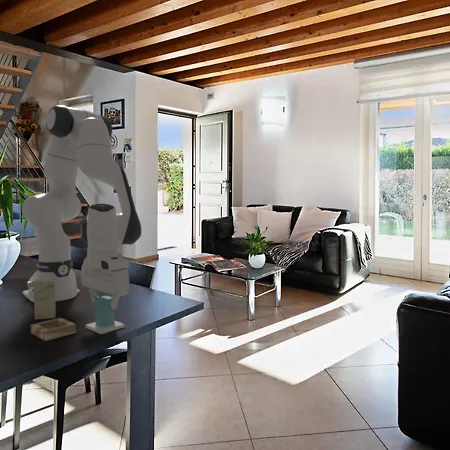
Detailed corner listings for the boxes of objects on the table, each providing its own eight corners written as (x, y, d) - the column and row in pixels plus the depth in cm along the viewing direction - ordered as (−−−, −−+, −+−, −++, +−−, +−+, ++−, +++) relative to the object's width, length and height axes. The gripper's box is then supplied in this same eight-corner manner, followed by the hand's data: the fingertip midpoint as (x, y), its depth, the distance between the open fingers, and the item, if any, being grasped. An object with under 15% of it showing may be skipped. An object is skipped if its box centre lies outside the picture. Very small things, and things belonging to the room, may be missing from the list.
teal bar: (95, 324, 129) (94, 298, 128) (107, 321, 132) (106, 295, 131) (103, 327, 126) (102, 300, 126) (114, 324, 129) (114, 297, 129)
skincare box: (34, 320, 136) (32, 282, 135) (35, 315, 140) (34, 279, 139) (55, 318, 138) (54, 280, 137) (56, 314, 142) (55, 277, 141)
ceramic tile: (85, 327, 129) (85, 324, 129) (108, 321, 135) (108, 318, 135) (100, 334, 124) (100, 330, 124) (124, 327, 130) (124, 324, 129)
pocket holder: (30, 333, 124) (30, 324, 124) (60, 325, 131) (60, 317, 131) (45, 341, 118) (45, 332, 118) (76, 332, 125) (75, 324, 125)
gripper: (74, 256, 132) (76, 301, 133) (113, 265, 118) (114, 315, 120) (93, 254, 136) (94, 297, 138) (132, 262, 123) (133, 310, 124)
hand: (104, 305), depth 129 cm, fingers open, 8 cm apart
